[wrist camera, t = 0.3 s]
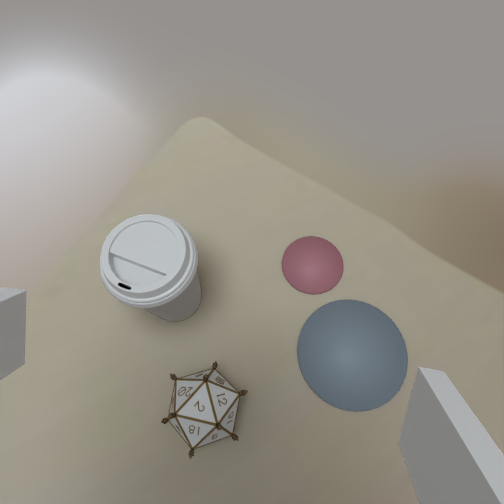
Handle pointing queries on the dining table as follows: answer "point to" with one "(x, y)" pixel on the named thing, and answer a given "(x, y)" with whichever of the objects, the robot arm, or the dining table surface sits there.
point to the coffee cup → (152, 266)
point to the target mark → (352, 355)
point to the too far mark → (312, 265)
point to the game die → (203, 408)
